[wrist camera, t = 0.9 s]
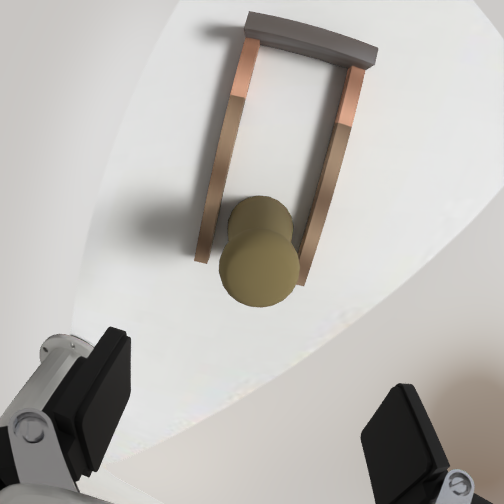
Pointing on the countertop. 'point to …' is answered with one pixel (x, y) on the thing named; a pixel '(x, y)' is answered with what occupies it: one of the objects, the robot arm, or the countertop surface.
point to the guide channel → (356, 61)
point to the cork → (259, 253)
